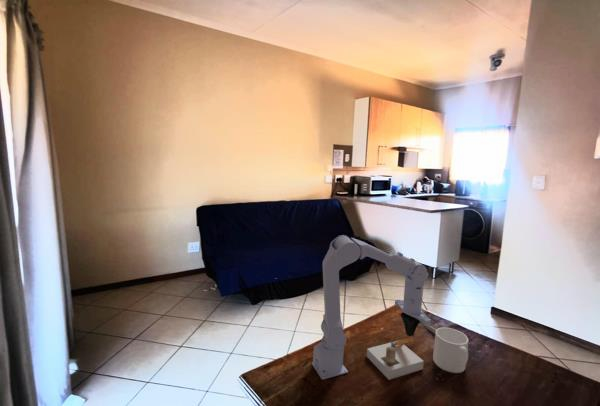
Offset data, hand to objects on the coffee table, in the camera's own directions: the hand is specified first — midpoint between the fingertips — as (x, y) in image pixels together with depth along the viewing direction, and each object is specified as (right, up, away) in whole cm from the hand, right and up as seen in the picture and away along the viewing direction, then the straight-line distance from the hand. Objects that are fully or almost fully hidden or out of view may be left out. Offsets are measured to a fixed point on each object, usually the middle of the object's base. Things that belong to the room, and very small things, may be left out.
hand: (409, 334), depth 100 cm
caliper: (+17, -9, +16) cm, 25 cm away
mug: (+14, -11, 0) cm, 18 cm away
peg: (-7, -10, -2) cm, 13 cm away
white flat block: (-5, -10, +1) cm, 11 cm away
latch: (-1, -4, +3) cm, 5 cm away
